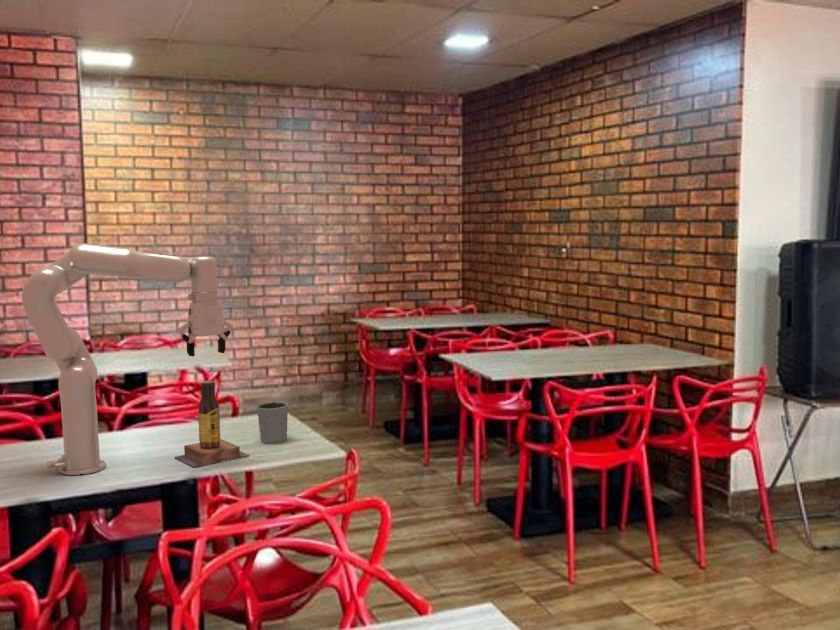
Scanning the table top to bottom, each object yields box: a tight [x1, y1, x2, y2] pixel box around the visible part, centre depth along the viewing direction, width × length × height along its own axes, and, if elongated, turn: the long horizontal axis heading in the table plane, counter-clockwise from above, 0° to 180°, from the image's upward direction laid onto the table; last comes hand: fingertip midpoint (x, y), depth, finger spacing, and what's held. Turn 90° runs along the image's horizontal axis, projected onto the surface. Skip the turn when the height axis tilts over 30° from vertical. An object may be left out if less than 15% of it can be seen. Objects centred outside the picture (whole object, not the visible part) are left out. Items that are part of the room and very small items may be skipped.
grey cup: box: [256, 401, 289, 445], centre depth 269 cm, size 10×10×12 cm
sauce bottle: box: [197, 380, 221, 448], centre depth 249 cm, size 7×6×20 cm
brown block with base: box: [174, 438, 250, 469], centre depth 250 cm, size 18×14×4 cm
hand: (206, 354), depth 247 cm, fingers open, 9 cm apart
